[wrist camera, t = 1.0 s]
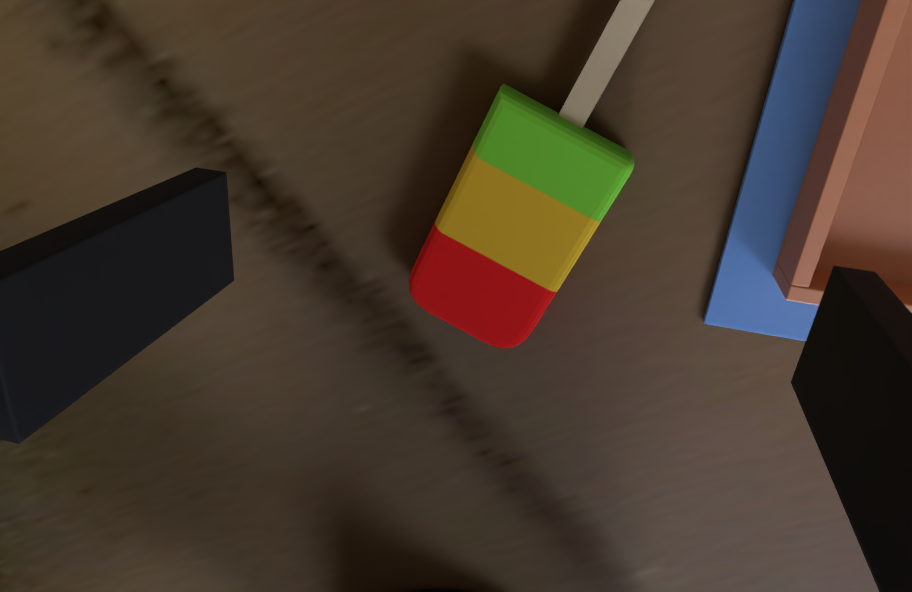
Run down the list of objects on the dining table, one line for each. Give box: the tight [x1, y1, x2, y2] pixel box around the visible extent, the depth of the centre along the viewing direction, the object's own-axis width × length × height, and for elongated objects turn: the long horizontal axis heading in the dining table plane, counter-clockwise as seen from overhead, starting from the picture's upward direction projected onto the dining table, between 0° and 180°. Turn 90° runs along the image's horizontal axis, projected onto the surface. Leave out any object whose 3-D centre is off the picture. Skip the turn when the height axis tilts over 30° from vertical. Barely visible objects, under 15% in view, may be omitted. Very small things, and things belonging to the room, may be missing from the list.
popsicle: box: [409, 0, 655, 349], centre depth 24 cm, size 6×15×2 cm, turn 154°
